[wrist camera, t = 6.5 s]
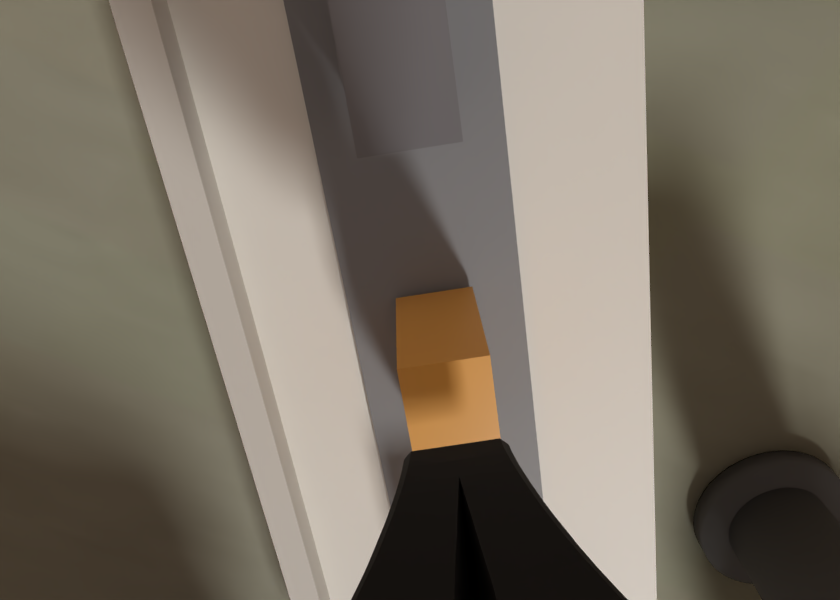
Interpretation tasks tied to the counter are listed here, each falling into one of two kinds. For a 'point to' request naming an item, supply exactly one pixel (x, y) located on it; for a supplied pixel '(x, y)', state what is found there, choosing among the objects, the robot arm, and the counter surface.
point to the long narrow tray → (415, 258)
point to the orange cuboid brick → (445, 370)
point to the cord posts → (774, 526)
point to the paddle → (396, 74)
